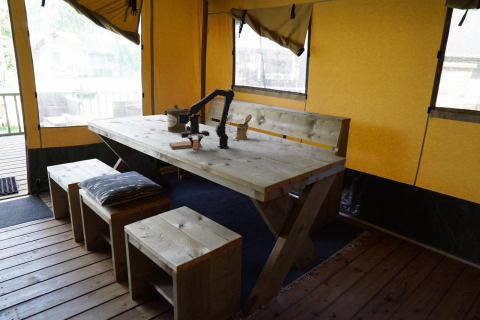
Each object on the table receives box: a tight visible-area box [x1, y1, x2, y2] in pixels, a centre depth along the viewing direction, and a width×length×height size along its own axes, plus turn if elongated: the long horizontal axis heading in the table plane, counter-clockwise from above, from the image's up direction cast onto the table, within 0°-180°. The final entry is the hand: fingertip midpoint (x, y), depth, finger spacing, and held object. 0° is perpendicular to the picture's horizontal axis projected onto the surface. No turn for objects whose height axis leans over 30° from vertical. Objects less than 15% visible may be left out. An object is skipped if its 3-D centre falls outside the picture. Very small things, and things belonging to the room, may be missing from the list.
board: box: [169, 140, 202, 150], centre depth 231 cm, size 10×20×2 cm, turn 112°
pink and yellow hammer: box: [191, 138, 200, 150], centre depth 229 cm, size 13×4×6 cm, turn 22°
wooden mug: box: [235, 114, 253, 141], centre depth 255 cm, size 9×14×18 cm, turn 127°
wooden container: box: [166, 104, 187, 133], centre depth 278 cm, size 15×15×22 cm
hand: (195, 146), depth 226 cm, fingers closed on pink and yellow hammer, 3 cm apart
